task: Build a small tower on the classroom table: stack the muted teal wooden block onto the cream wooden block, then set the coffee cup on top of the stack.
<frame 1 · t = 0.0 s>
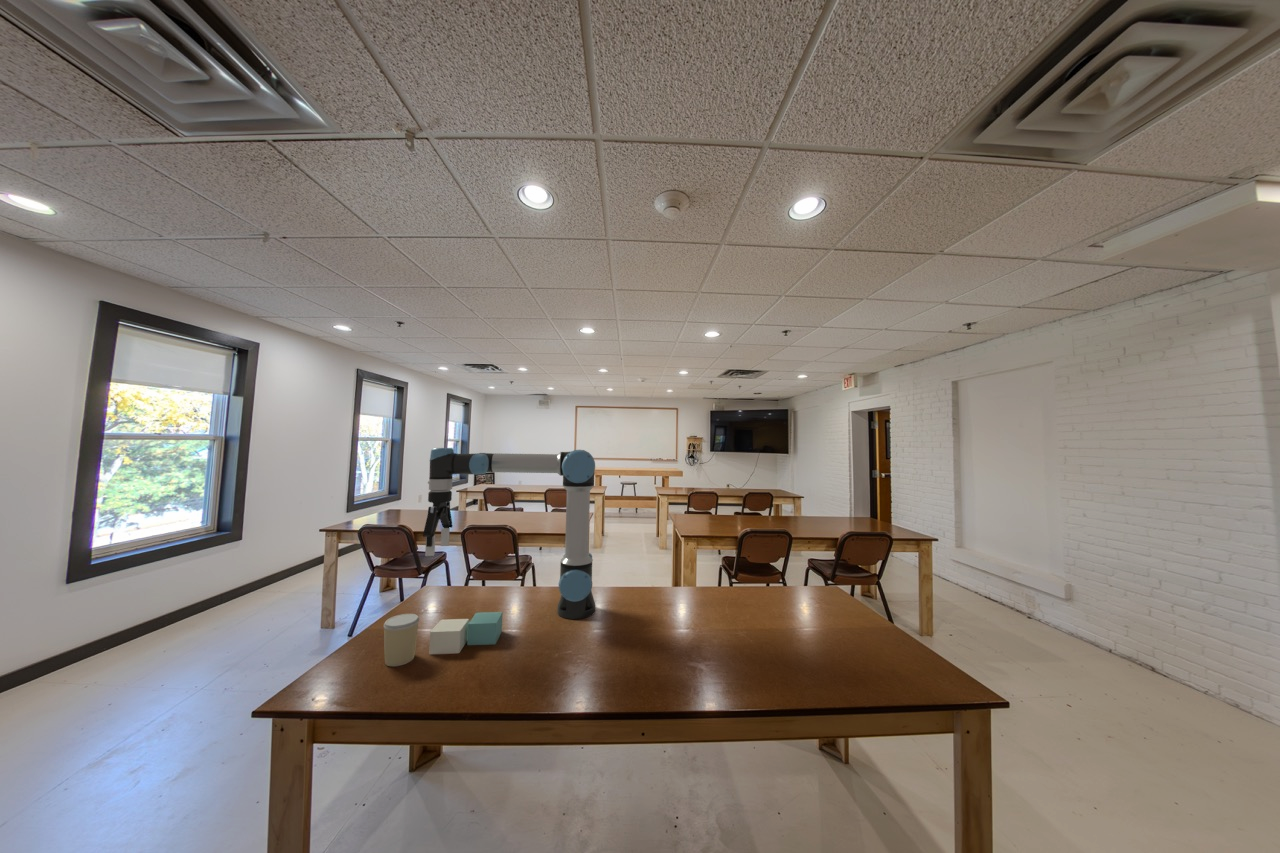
hand: (437, 550, 141), 28 cm above the table, fingers open, 13 cm apart
cream block: (449, 647, 129), on the table
teal block: (485, 638, 135), on the table
coffee cup: (399, 660, 121), on the table
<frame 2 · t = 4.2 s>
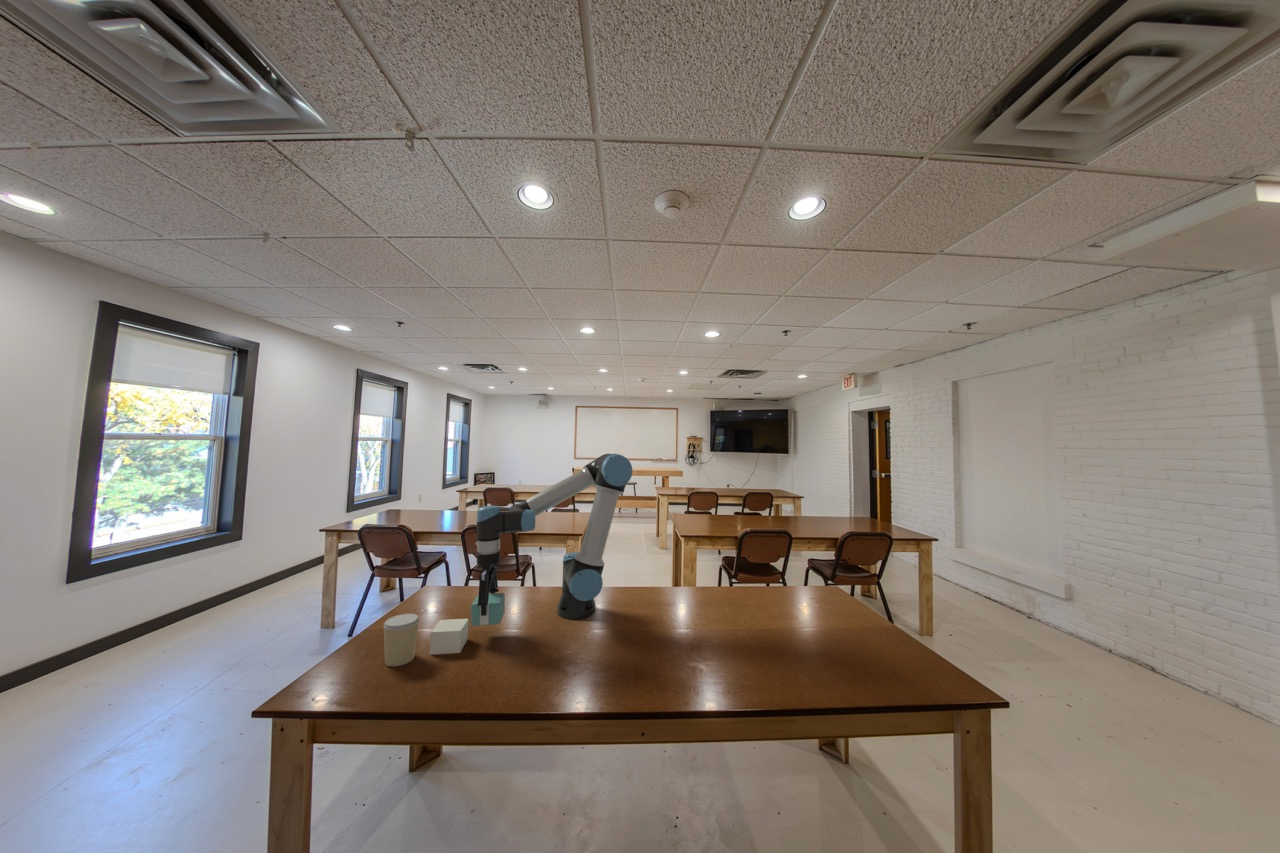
hand: (488, 617, 136), 7 cm above the table, fingers closed on teal block, 9 cm apart
teal block: (488, 619, 136), point 6 cm above the table, touching gripper
everything else where it was.
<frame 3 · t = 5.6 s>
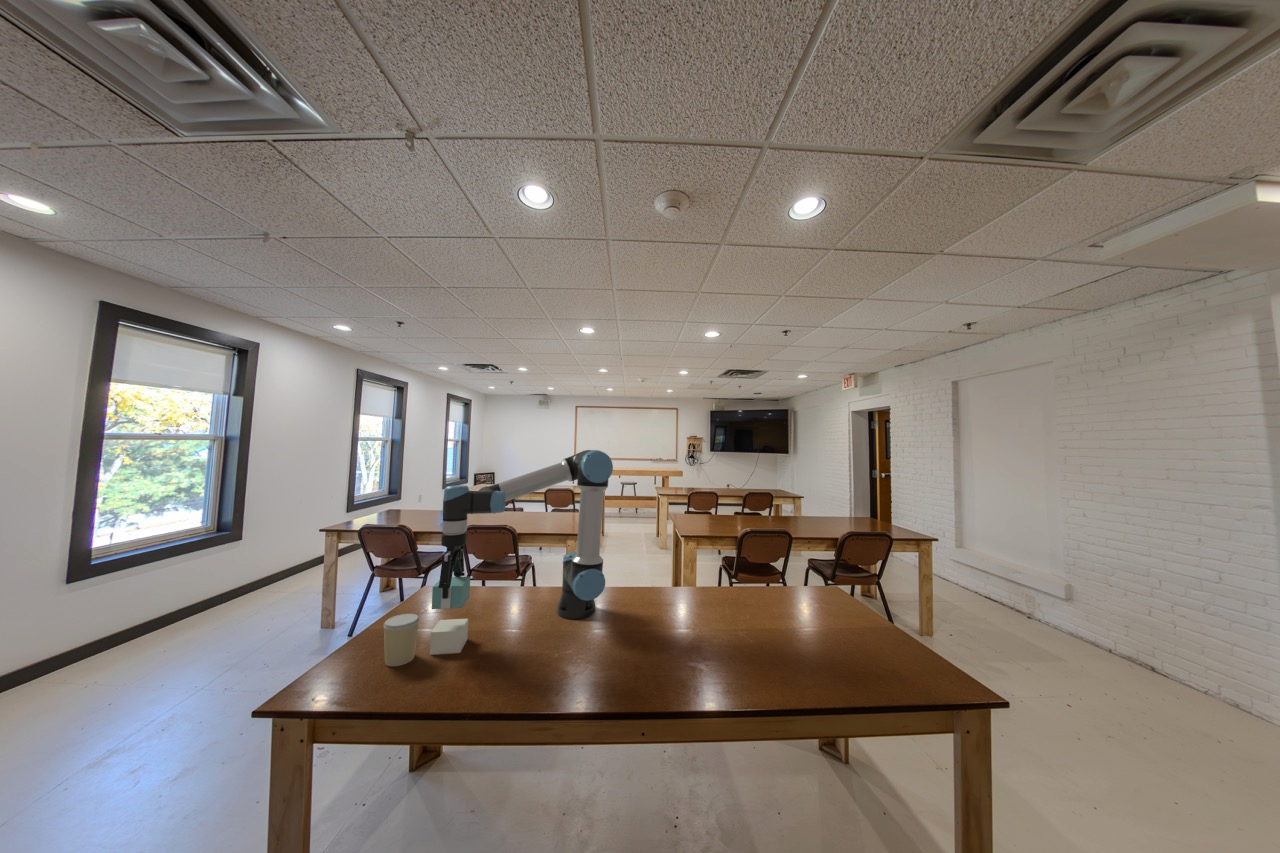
hand: (451, 601, 130), 14 cm above the table, fingers closed on teal block, 9 cm apart
teal block: (451, 603, 130), point 14 cm above the table, touching gripper
everything else where it was.
when the fingers open (7 cm above the table, at t = 7.2 s): teal block stays where it is, resting on cream block.
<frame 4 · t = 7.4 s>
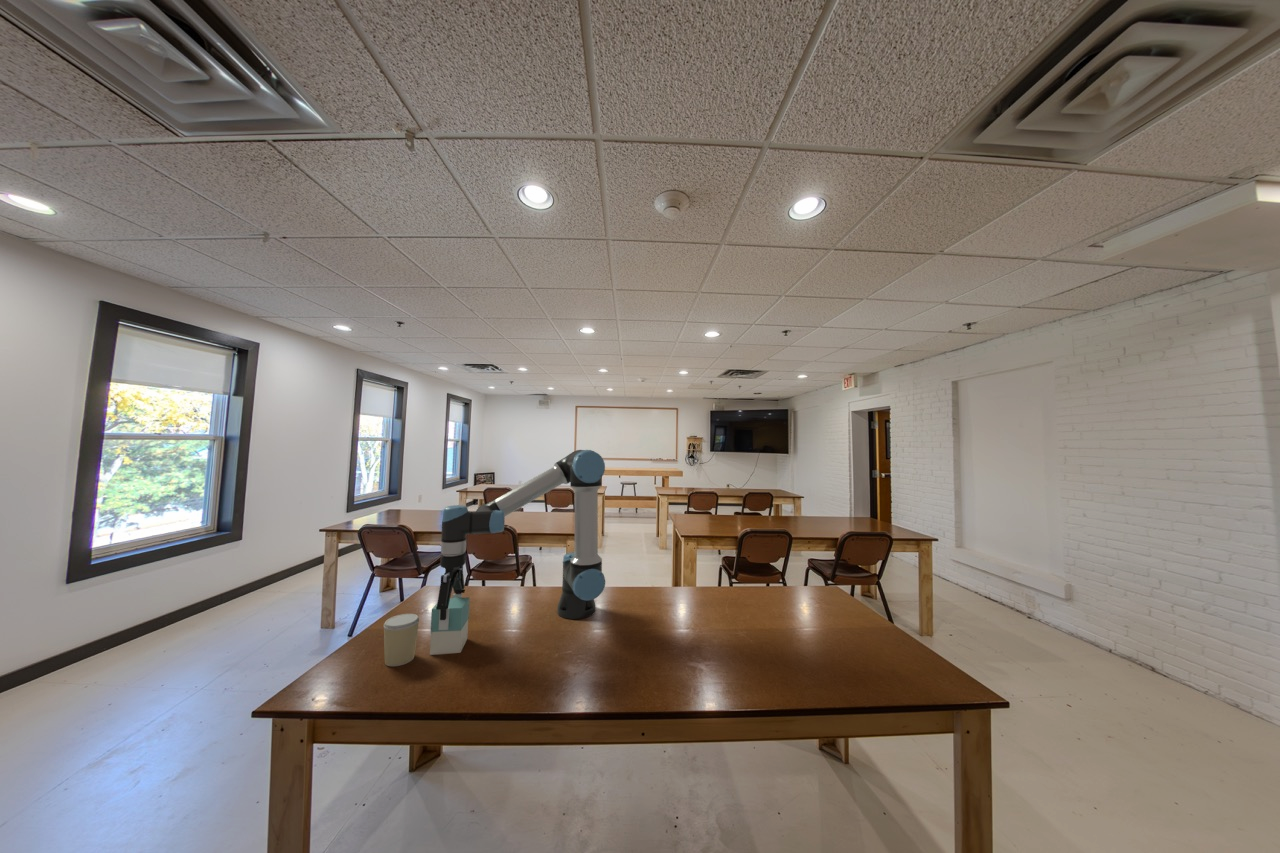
hand: (450, 621, 130), 8 cm above the table, fingers open, 11 cm apart
cream block: (449, 646, 129), on the table, touching teal block
teal block: (450, 624, 129), point 7 cm above the table, touching cream block
everything else where it was.
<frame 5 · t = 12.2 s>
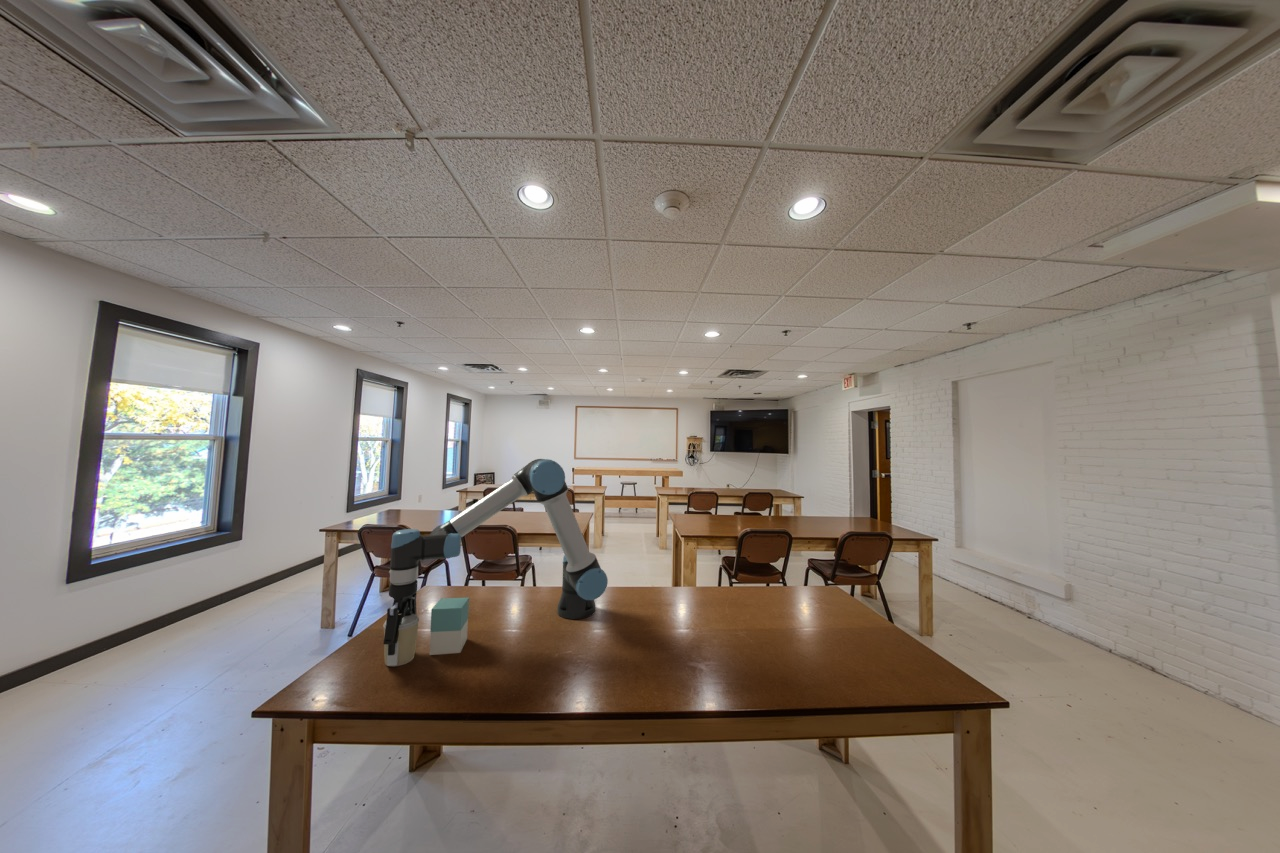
hand: (399, 656, 121), 1 cm above the table, fingers closed on coffee cup, 9 cm apart
coffee cup: (399, 660, 121), on the table, touching gripper
everything else where it was.
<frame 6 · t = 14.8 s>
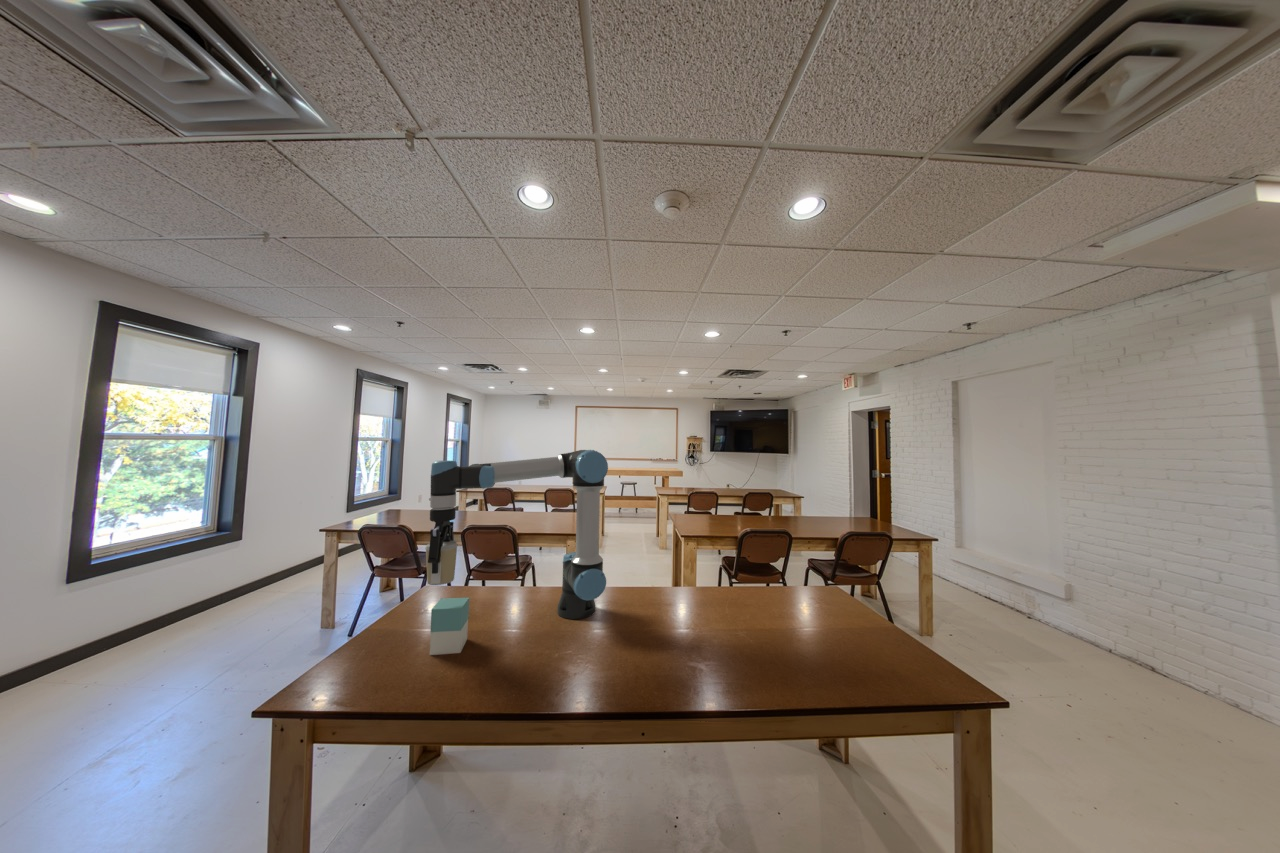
hand: (441, 578, 128), 23 cm above the table, fingers closed on coffee cup, 8 cm apart
coffee cup: (440, 581, 128), point 21 cm above the table, touching gripper
everything else where it was.
when the fingers open (16 cm above the table, at t = 17.4 s): coffee cup stays where it is, resting on teal block.
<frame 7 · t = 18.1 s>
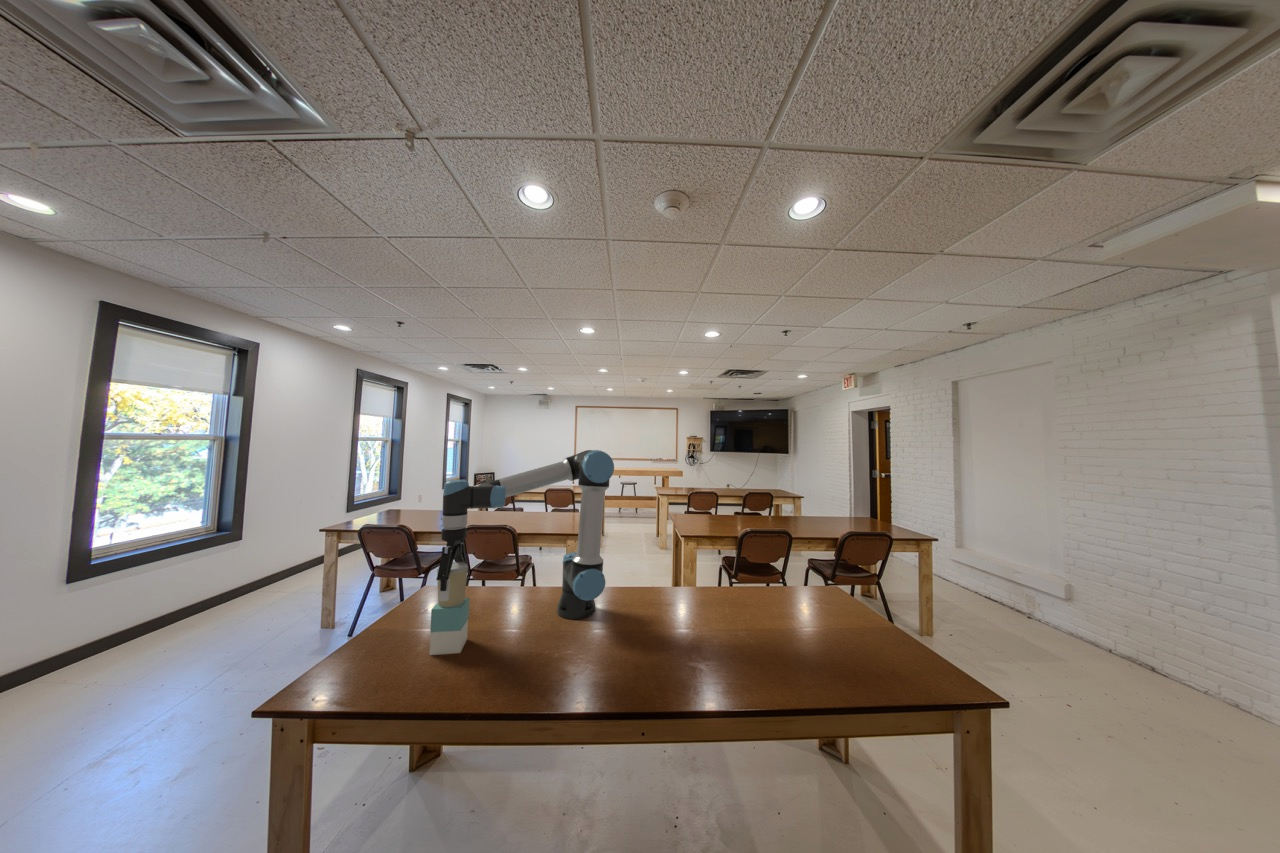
hand: (451, 592, 130), 17 cm above the table, fingers open, 13 cm apart
teal block: (450, 625, 129), point 7 cm above the table, touching coffee cup, cream block
coffee cup: (451, 603, 130), point 14 cm above the table, touching teal block
everything else where it was.
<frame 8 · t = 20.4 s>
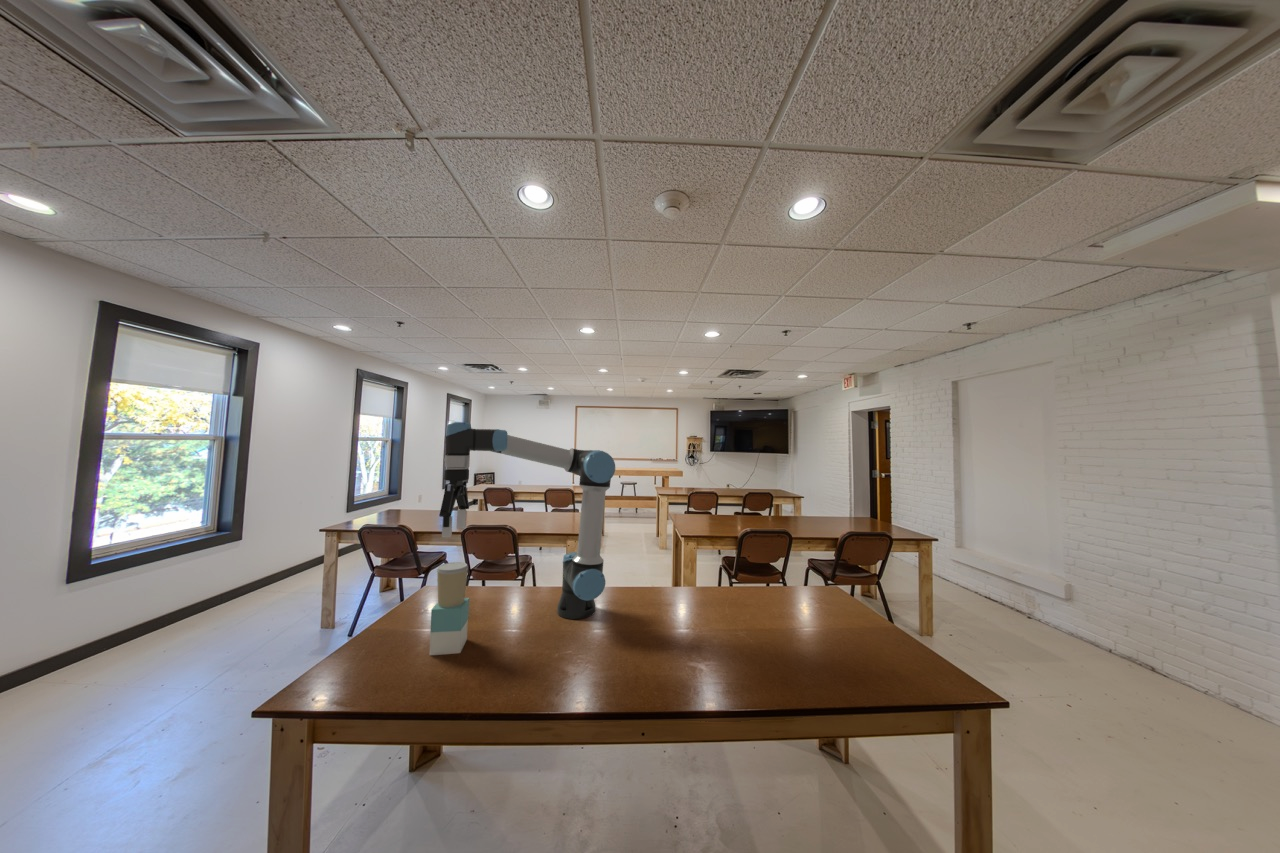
hand: (454, 532, 131), 37 cm above the table, fingers open, 13 cm apart
nothing on the table moved.
at the end: teal block 0.1 cm off-centre on the cream block, point 7.0 cm above the cream block's base; coffee cup inside the target area on the cream block (0.2 cm from its centre), point 13.8 cm above the cream block's base; coffee cup tilted 0° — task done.
